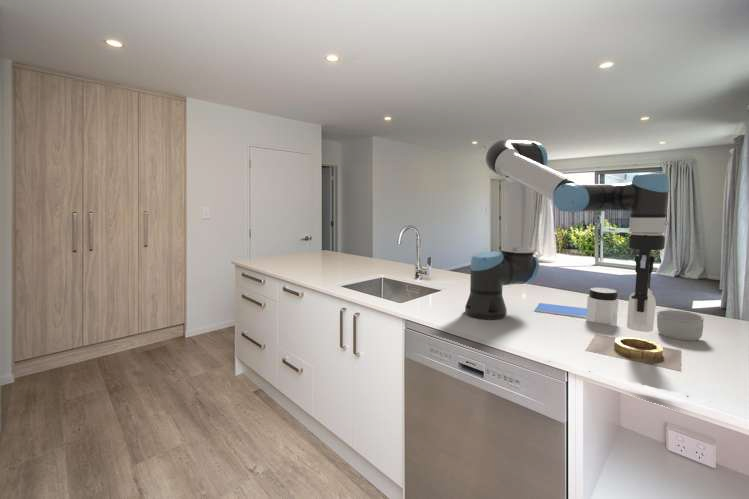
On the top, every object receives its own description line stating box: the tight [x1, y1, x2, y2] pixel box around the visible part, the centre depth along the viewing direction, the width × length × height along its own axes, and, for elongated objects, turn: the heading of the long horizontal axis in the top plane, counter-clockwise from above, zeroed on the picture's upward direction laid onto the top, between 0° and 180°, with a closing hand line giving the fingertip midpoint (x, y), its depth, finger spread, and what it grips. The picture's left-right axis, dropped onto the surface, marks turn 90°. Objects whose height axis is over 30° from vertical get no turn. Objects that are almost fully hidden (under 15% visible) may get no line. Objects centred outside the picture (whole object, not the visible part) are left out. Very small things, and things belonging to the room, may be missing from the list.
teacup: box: [656, 308, 705, 342], centre depth 110 cm, size 14×11×8 cm
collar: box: [614, 336, 664, 360], centre depth 97 cm, size 10×10×2 cm
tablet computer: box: [533, 302, 587, 319], centre depth 140 cm, size 19×13×1 cm, turn 58°
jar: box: [585, 287, 619, 327], centre depth 123 cm, size 9×8×12 cm
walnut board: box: [585, 333, 682, 372], centre depth 98 cm, size 20×16×2 cm
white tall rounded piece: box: [626, 288, 657, 333], centre depth 95 cm, size 6×12×6 cm
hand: (640, 320), depth 96 cm, fingers closed on white tall rounded piece, 6 cm apart
